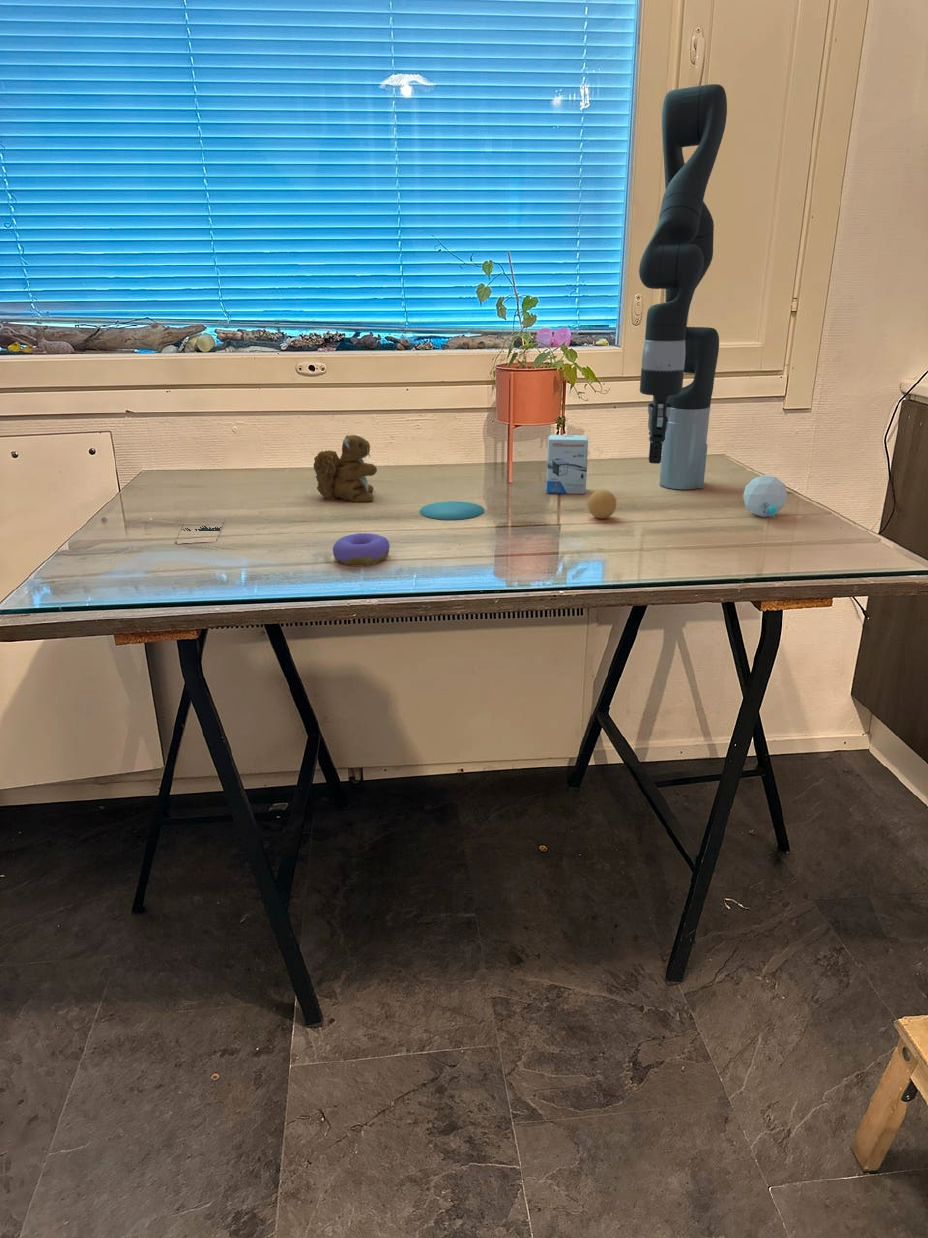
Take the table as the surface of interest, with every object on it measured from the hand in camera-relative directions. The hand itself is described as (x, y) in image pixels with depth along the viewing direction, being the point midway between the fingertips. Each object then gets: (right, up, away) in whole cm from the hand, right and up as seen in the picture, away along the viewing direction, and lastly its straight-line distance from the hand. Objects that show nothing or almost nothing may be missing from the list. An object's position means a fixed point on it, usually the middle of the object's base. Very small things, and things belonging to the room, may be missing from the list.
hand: (654, 462), depth 153 cm
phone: (-86, -13, +2) cm, 87 cm away
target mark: (-38, -7, +12) cm, 41 cm away
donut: (-53, -19, -13) cm, 58 cm away
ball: (-9, -7, +5) cm, 13 cm away
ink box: (-14, -2, +26) cm, 29 cm away
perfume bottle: (+22, -10, +5) cm, 25 cm away
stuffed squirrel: (-61, -3, +24) cm, 66 cm away
